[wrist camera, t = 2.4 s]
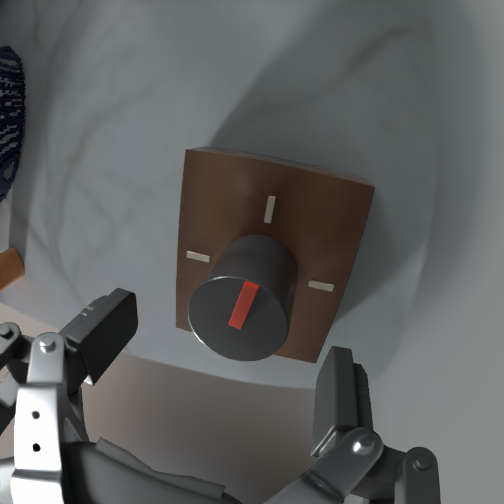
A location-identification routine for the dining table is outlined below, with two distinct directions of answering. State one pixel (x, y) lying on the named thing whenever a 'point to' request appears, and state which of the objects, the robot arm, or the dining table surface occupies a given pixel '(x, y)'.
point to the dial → (246, 299)
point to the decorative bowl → (13, 154)
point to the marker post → (10, 268)
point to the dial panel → (273, 230)
